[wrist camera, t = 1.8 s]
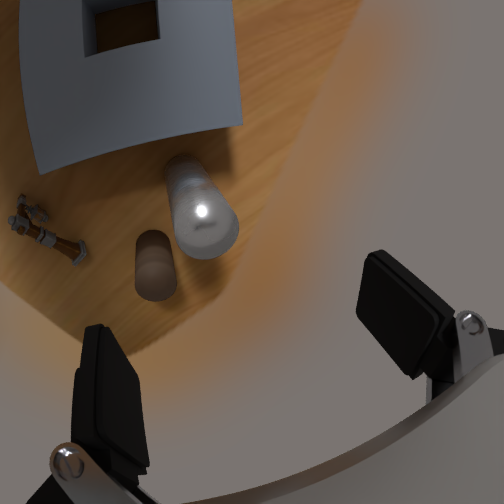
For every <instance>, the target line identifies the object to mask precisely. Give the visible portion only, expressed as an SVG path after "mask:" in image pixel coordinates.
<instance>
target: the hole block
mask: <svg viewBox="0 0 504 504" xmlns="http://www.w3.org/2000/svg"><path fill="white" fill-rule="evenodd" d="M149 1H155V6H156V20H157V33H158V40H152V41H147V42H142V43H137V44H133V45H129V46H124V47H120V48H117V49H113V50H109V51H106V52H102V53H99V54H98V52H97V40H96V23H95V14H98V13H102V12H105V11H109V10H113V9H116V8H121V7H125V6H129V5H134V4H139V3H144V2H149ZM19 57H20V72H21V82H22V91H23V98H24V105H25V112H26V117H27V123H28V128H29V133H30V138H31V143H32V147H33V151H34V155H35V159H36V163H37V167H38V171H39V174H40V175H43V174H45V173H48V172H51V171H53V170H56V169H59V168H61V167H64V166H67V165H70V164H73V163H76V162H79V161H82V160H85V159H88V158H91V157H95V156H98V155H101V154H105V153H108V152H112V151H115V150H119V149H123V148H126V147H130V146H134V145H138V144H142V143H146V142H150V141H155V140H159V139H164V138H168V137H173V136H178V135H183V134H188V133H194V132H199V131H205V130H211V129H218V128H224V127H231V126H239V125H243V120H242V109H241V97H240V86H239V75H238V64H237V53H236V42H235V31H234V20H233V9H232V0H20V8H19Z"/></svg>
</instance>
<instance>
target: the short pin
mask: <svg viewBox="0 0 504 504" xmlns="http://www.w3.org/2000/svg"><path fill="white" fill-rule="evenodd" d="M176 287H177V280H176V275H175V269H174V264H173V258H172V252H171V246H170V241H169V238H168V237H167V235H166V234H165V233H163V232H161V231H159V230H148V231H146V232H144V233H142V234H141V235H140V236H139V238H138V239H137V242H136V258H135V289H136V291H137V293H138V294H139V295H140V296H141V297H142V298H144V299H146V300H148V301H162V300H165V299H167V298H169V297H170V296H171V295H172V294H173V293H174V292H175V290H176Z"/></svg>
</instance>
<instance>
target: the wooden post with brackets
mask: <svg viewBox="0 0 504 504" xmlns="http://www.w3.org/2000/svg"><path fill="white" fill-rule="evenodd" d="M26 206H27V205H26V196H25V195H23V194H22V193H21V195H20V196H19V198H18V203H17V209H18V210H17V215H16V216H15V217H14V216H10V217H9V218H8V223H9V224H10V225H12V230H15V231H17V233H18V234H20V235H23V236H24V234H26V235H28V236H30V237H32V238H34V239H35V242H39V241H40V244H43V245H45V246H48V247H49V248H50V249H51V247H53V248H55V249H57V250H59V251H60V252H62V253H63V254H65V255H66V256H68V257H69V258H70V259H71V260H72V265H74V266H75V267H76V266H77V265H78V263H79V262H80V261H81V260H82V259H83V258H84V257H85V256H86V250H85V244H84V241H82V240H80V241H79V242H78V243H74V242H71V241H68V240H64V239H61V238H59V237H57V236H56V233H52V232H50V231H48V230H47V229H45V230H44V229H43V227H42V226H40V228H39V227H37V226H35V225H33V224H32V222H31V220H32V219H33V218H34V219H35V220H37V221H38V222H39V223H40V224H41V222H42V221H43V222H47V221H48V216H47V215H46V211H44V210H42V209H39V208H38V204H37V205H36V206H35V207H34V208H33V207H32V208H31V206H32V205H31V206H30V207H29V206H27V207H26ZM25 207H26V208H25ZM27 208H28V209H27ZM25 209H27V210H28V213H29V212H30V214H31V220H30V219H29V217H28V215H27V213H26V211H25Z"/></svg>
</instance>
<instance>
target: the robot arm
mask: <svg viewBox="0 0 504 504" xmlns="http://www.w3.org/2000/svg"><path fill="white" fill-rule="evenodd" d="M454 313H455V310H453V308H451V307H450V306H449V305H448V304H447V303H446V302H445V301H444V300H443V299H441V298H440V297H439V296H438V295H437V294H436V293H435V292H434V291H433V290H431V289H430V288H429V287H428V286H427V285H426V284H424V283H423V282H422V281H421V280H419V278H417V277H416V276H415V275H414V274H413V273H412V272H410V271H409V270H408V269H407V268H405V267H404V266H403V265H402V264H401V263H399V262H398V261H397V260H396V259H394V258H393V257H392V256H391V255H390V254H388V253H387V252H386V251H384V250H378V251H374V252H371V253H369V254H368V256H367V258H366V259H365V262H364V268H363V274H362V280H361V285H360V291H359V296H358V301H357V306H356V314H357V317H358V318H359V320H360V321H361V322H362V323H363V324H364V326H365V327H366V328H367V329H368V330H369V331H370V333H371V334H372V335H373V336H374V337H375V339H376V340H377V341H378V342H379V344H380V345H381V346H382V347H383V348H384V350H385V351H386V352H387V353H388V354H389V356H390V357H391V358H392V359H393V361H394V362H395V363H396V364H397V365H398V367H399V368H400V369H401V370H402V372H403V373H404V374H405V375H409V376H410V378H411V379H412V380H414V379H415V378H417V377H418V376H420V375H421V374H422V373H423V372H424V373H425V374H426V375H427V387H426V405H425V406H424V407H422V408H421V409H419V410H418V411H416V412H415V413H413V414H412V415H410V416H409V417H407V418H406V419H404V420H403V421H401V422H400V423H398V424H397V425H395V426H393V427H392V428H390V429H388V430H386V431H385V432H383V433H381V434H380V435H378V436H376V437H374V438H373V439H371V440H369V441H367V442H365V443H363V444H361V445H360V446H358V447H356V448H354V449H352V450H350V451H348V452H346V453H344V454H341V455H339V456H337V457H335V458H333V459H331V460H329V461H326V462H324V463H322V464H319V465H317V466H315V467H312V468H310V469H307V470H305V471H302V472H300V473H297V474H294V475H292V476H289V477H286V478H283V479H280V480H277V481H275V482H271V483H268V484H265V485H262V486H258V487H255V488H252V489H248V490H245V491H241V492H236V493H232V494H228V495H224V496H219V497H215V498H210V499H205V500H200V501H195V502H190V503H183V504H504V330H499V329H493V328H488V327H487V325H486V322H485V321H484V319H483V318H482V317H481V316H480V315H479V314H477V313H475V312H473V311H462V312H460V313H458V314H457V317H456V318H454V317H453V315H454ZM49 465H50V470H51V472H52V474H51V475H50V477H49V478H48V479H47V480H46V481H45V482H44V483H43V484H42V486H41V487H40V488H39V489H38V490H37V491H36V492H35V494H34V495H33V496H32V497H31V498H30V499H29V500H28V501H27V503H26V504H161V503H159V502H158V501H157V500H155V499H154V498H153V497H152V496H150V495H149V494H148V493H147V492H146V491H145V490H143V489H142V488H141V487H140V486H139V480H138V475H146V474H147V471H146V467H149V466H150V462H149V456H148V450H147V443H146V436H145V429H144V421H143V412H142V403H141V392H140V382H139V378H138V375H137V373H136V372H135V370H134V368H133V367H132V365H131V364H130V362H129V361H128V359H127V357H126V356H125V354H124V352H123V351H122V349H121V347H120V345H119V344H118V342H117V340H116V338H115V337H114V335H113V333H112V331H111V330H110V328H109V327H104V325H103V324H97V325H92V326H88V327H86V328H85V333H84V339H83V346H82V353H81V363H80V368H77V370H76V372H75V379H74V388H73V401H72V418H71V443H70V442H66V443H63V444H60V445H58V446H57V447H56V448H55V449H54V450H53V452H52V454H51V456H50V463H49Z"/></svg>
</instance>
